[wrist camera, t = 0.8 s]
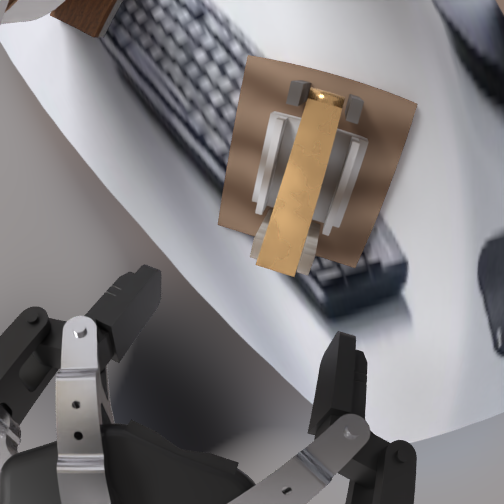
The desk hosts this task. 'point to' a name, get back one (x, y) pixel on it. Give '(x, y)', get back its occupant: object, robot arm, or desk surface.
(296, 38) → the desk surface
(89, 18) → the display case
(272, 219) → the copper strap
